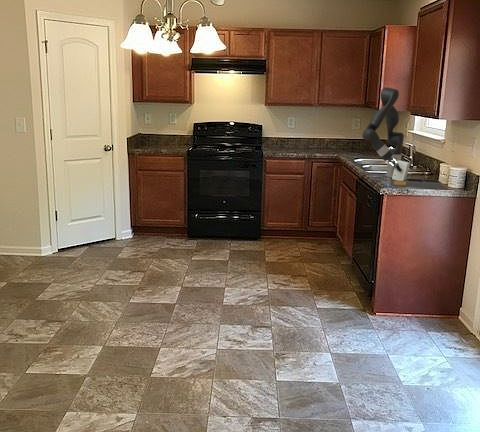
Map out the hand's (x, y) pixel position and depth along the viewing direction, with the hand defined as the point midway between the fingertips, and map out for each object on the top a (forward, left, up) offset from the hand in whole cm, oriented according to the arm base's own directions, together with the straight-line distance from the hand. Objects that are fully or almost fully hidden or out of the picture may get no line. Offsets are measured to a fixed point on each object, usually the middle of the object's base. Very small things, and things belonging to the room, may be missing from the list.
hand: (399, 170), depth 353 cm
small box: (0, 0, -7) cm, 7 cm away
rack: (0, +11, -10) cm, 15 cm away
